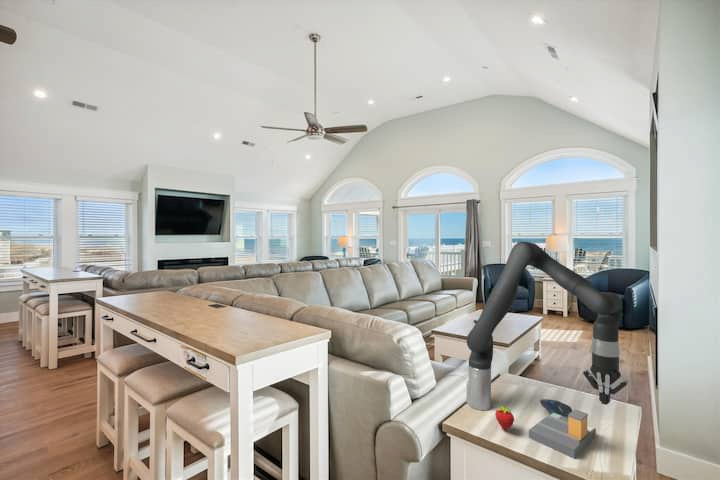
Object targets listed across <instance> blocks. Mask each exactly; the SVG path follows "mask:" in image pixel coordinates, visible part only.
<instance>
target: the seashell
mask: <svg viewBox="0 0 720 480" xmlns="http://www.w3.org/2000/svg"><path fill="white" fill-rule="evenodd" d="M539 403H540V405H541V406H542V407H543V408H544V409H545V410H546V411H547V412H548V413H549V414H551V413H553V412H554V413H556V414H559V415H561V416H564V417H567V418H568V414H570V413H571V412H572V411H573V409H572V407H571V406H570V405H569V404H567V403H564V402H561V401H558V400H555V399H549V398H548V399H547V398H541V399H539Z"/></svg>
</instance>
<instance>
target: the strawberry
mask: <svg viewBox="0 0 720 480" xmlns="http://www.w3.org/2000/svg"><path fill="white" fill-rule="evenodd" d="M495 418H496V421H497V422H498V424H499V426H500V427H501V429H502V430H503V431H504V432H506V431H508V430H509V429H510V428H511V427H512V426H513V424H514V422H515V416H514V414H513V413H512V410H510V408H509V407H504V405H503V404H502V405H501V406H500V408H497V409H496V411H495Z"/></svg>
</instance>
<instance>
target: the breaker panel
mask: <svg viewBox="0 0 720 480" xmlns="http://www.w3.org/2000/svg"><path fill="white" fill-rule="evenodd" d="M596 436H597V428H595V427H593V426H590V425H588V424H587V435H586V436H585V437H584V438H583V439H582V440H580V439H578V438H575V437H573V436H570V435H568V417H564V416H561V415H559V414H556V413H554V412H553V413H549V414H548V415H547V416H546V417H544V418H543V419H542V420H540V421H538V422H537V423H536V424H535V425H533V426H532V427H531V428H529V429H528V439H530V438H531V440H532V439H533V441H535V442H537V443H538V444H541V445H543V446H546V447H548V448H550V449H552V450H554V451H556V452H559V453H561V454H563V455H566V456H568V457H569V458H572V459H575V458H576V457H577V456H579V454H580V453H582V451H583V450H584V449H585V448H587V446H588V445H589V444H591V442H592V441H593V440H594V439H595V438H596Z"/></svg>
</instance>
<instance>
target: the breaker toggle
mask: <svg viewBox="0 0 720 480" xmlns="http://www.w3.org/2000/svg"><path fill="white" fill-rule="evenodd" d="M588 416H589V413H586V412H584V411H581V410H579V409H576V408H574V409H572V412H571V413H570V414H568V417H567V418H568V435H570V436H573V437H575V438H578V439H580V440H582V439H583V438H584V437H585V436H586V435H587V425H588V420H589V419H588V418H589V417H588Z"/></svg>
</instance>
